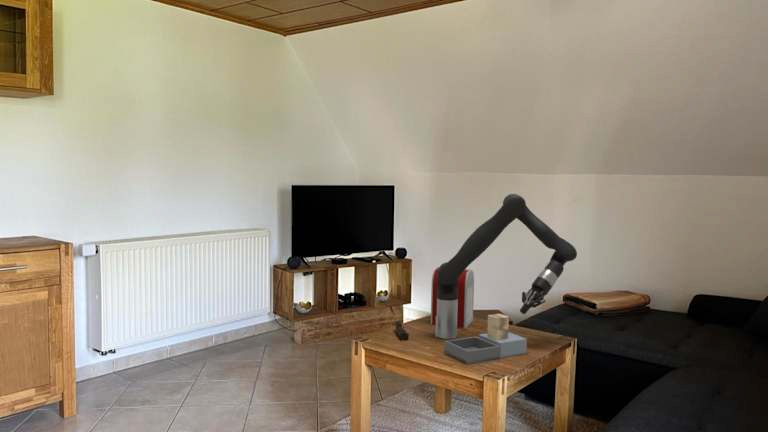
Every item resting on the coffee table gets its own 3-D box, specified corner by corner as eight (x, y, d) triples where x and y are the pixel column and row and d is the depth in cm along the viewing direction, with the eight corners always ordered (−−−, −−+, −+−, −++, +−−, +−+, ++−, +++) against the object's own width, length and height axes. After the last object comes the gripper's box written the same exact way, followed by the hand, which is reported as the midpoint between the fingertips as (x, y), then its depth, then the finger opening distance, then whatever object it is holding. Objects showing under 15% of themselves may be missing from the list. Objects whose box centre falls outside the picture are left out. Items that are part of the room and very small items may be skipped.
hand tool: (408, 341, 263) (409, 331, 262) (399, 341, 262) (400, 331, 262) (402, 330, 282) (402, 320, 281) (394, 330, 281) (394, 320, 281)
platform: (504, 344, 260) (504, 330, 259) (526, 353, 248) (526, 338, 247) (478, 348, 253) (478, 334, 253) (499, 357, 241) (500, 343, 240)
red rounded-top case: (439, 316, 307) (440, 264, 305) (473, 320, 301) (475, 267, 299) (430, 324, 292) (431, 269, 290) (465, 328, 286) (467, 272, 284)
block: (498, 334, 253) (499, 313, 252) (508, 338, 248) (508, 316, 247) (487, 336, 250) (487, 315, 249) (496, 340, 245) (497, 318, 244)
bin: (475, 348, 254) (476, 336, 253) (500, 358, 240) (500, 346, 239) (444, 353, 246) (444, 341, 246) (467, 364, 232) (468, 351, 232)
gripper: (529, 273, 264) (507, 303, 259) (551, 278, 252) (528, 310, 247) (538, 284, 267) (516, 314, 262) (560, 290, 255) (537, 321, 250)
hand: (522, 312), depth 254 cm, fingers closed
